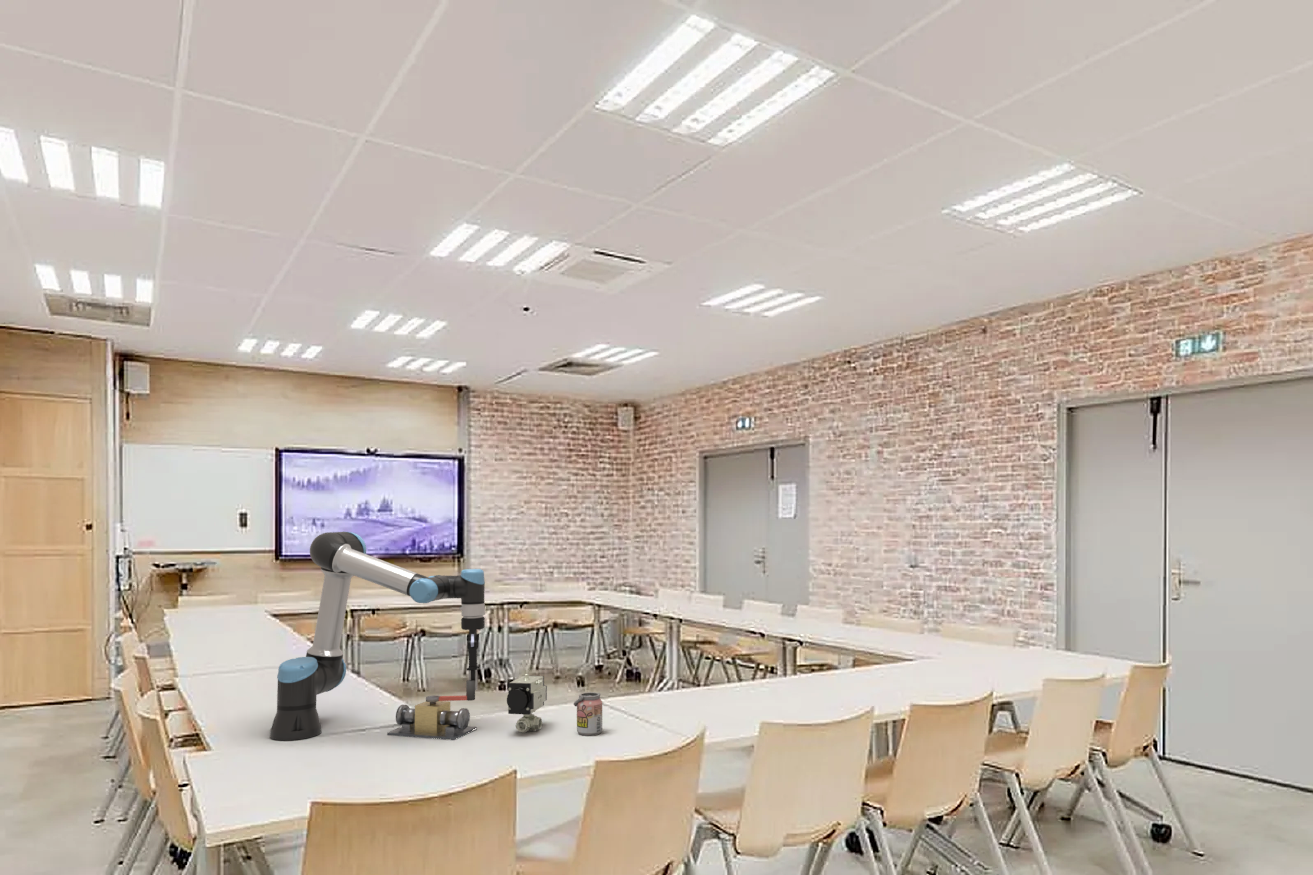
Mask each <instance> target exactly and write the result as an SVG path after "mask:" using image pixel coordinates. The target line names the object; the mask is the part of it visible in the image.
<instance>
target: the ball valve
mask: <svg viewBox="0 0 1313 875" xmlns="http://www.w3.org/2000/svg"><path fill="white" fill-rule="evenodd" d="M507 686H508V690H507V692H508V694H507V697H506V704H507V706H508V707H507V708H508V709H507V710H508V712H507V714H508V715H522V717H520V718H519V719H518V720H517V721H516V724H515V728H516V730H517V731H518V733H522V734H525V733H527V732H528V731H530V732H531V731H532V732H536V731H538V730H541V729H542V726H543V720H542V717H540V716H537V715H535V714H533V713H535V712H536V711H538V710H539V709H540V708H542V707H544V705H545V702H546V701H547V700H548V699H547V698H548V689H547V688H548V685H547V684H546V685H545V676H544V675H530V674H529V673H525V674H524V675H522V676H519V677H518V678H516V679H514V680H513V681H510V682H508V684H507Z"/></svg>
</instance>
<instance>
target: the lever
mask: <svg viewBox="0 0 1313 875" xmlns="http://www.w3.org/2000/svg"><path fill="white" fill-rule="evenodd" d="M465 685H466V686H465V688H466V691H465V693H466V694H465V695H463V694H462V695H436V694H435V695H428V696H425V702H437V701H449V702H452V701H456V702H457V701H475V700H476V690H475V680H469V679H467V680H466V684H465Z"/></svg>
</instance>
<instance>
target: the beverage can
mask: <svg viewBox="0 0 1313 875" xmlns="http://www.w3.org/2000/svg"><path fill="white" fill-rule="evenodd" d="M578 696H579V697H578V698H577V699H576V700H575V701H574V702H573V706H574V707H576V732H577V733H578V735H581V736H586V737H589V736H590V737H591V736H597V735H598V736H599V735H600V734H601V733H602V732H603V701H602V699H601V693H600V692H593V691H592V692H591V691H589V692H583V693H580V694H579V695H578Z"/></svg>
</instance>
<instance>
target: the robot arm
mask: <svg viewBox="0 0 1313 875" xmlns="http://www.w3.org/2000/svg"><path fill="white" fill-rule="evenodd" d="M309 555H310V558H311V560H312V562H313V564H315V565H316V566H319V567H320V571H321V572H322V573H323V575H324V578H323V584H322V591H321V596H320V601H319V607H318V614H317V619H316V625H315V629H314V630H315V631H314V634H313V635H314V637H313V641H312V645H311V646H310V647H309V648H308V649H307V650H306V655H305V656H300V657H295V658H291V659H290V658H289V659H287V660H285V661H283V662H281V663H280V664H279V666H278V671H277V672H278V673H277V678H276V679H277V695H276V699H277V700H276V713H275V715H274V716H275V717H274V719H273V722H272V725H271V728H270V732H269V738H270V739H272V740H275V741H296V740H304V739H310V738H313V737H316V736H319V735H320V734H321V733H322V723H321V721H320V716H319V713H318V709H317V695H320V694H322V693H326V692H327V693H328V692H330V691H332V690H334V689H335V688H337V687H339V685H340V684H342V683H343V682H344V679H345V677H346V674H347V664H346V662H345V661H344V659H343V656H344V651H343V650H342V649H341V640H342V633H343V629H344V622H345V616H346V611H347V606H348V605H347V604H348V599H349V594H350V586H351V581H352V578H353V577H354V576H355V577H357V578H360V579H362V580H365V581H368V582H371V583H373V584H376V585H378V586H381V587H384V588H386V589H389V590H392V591H395V592H398V593H399V594H403V595H405V596H408V597H410V598H411V599H412V600H413V601H414V602H415V603H418V604H429V603H431V602H434V601H439V600H444V599H445V600H446V599H460V601H461V602H460V603H461V606H459V610H460V612H461V614H460V615H461V616H462V617H461V619H460V621H461V622H460V623H461V624H460V626H461V628H460V629H462V630H463V631H468V634H466V642H467V646H466V647H467V649H468V667H467V668H466V671H468V680H475V691H478V669H480V666H479V665H478V648H479V640H480V633H477V632H478V631H477V630H483V629H484V628H485V623H486V620H485V619H486V618H485V617H484V615H485V614H486V613H485V611H486V609H485V607H486V605H485V604H486V602H485V589H486V588H485V585H486V584H485V583H486V582H485V581H486V580H485V572H484V570H483V569H481V568H467V569H466V568H465V569H462V570H461V573H460V575H440V574H438V575H430V576H426V575H423V574H420V573H417V572H416V571H412V570H410V569H407V568H405V567H402V566H398V565H396V564H393V563H391V562H388V561H385V560H382V559H380V558H377V557H375V556H372V555H369V554H367V544H366V543H365V540H364V539H363V537H362V536H360V535H359V534H357V533H356V532H352V531H329V532H323V533H321V534H319V535H317V536H316V537H315V538H314V539H313V540H312V542H311V544H310V547H309Z"/></svg>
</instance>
